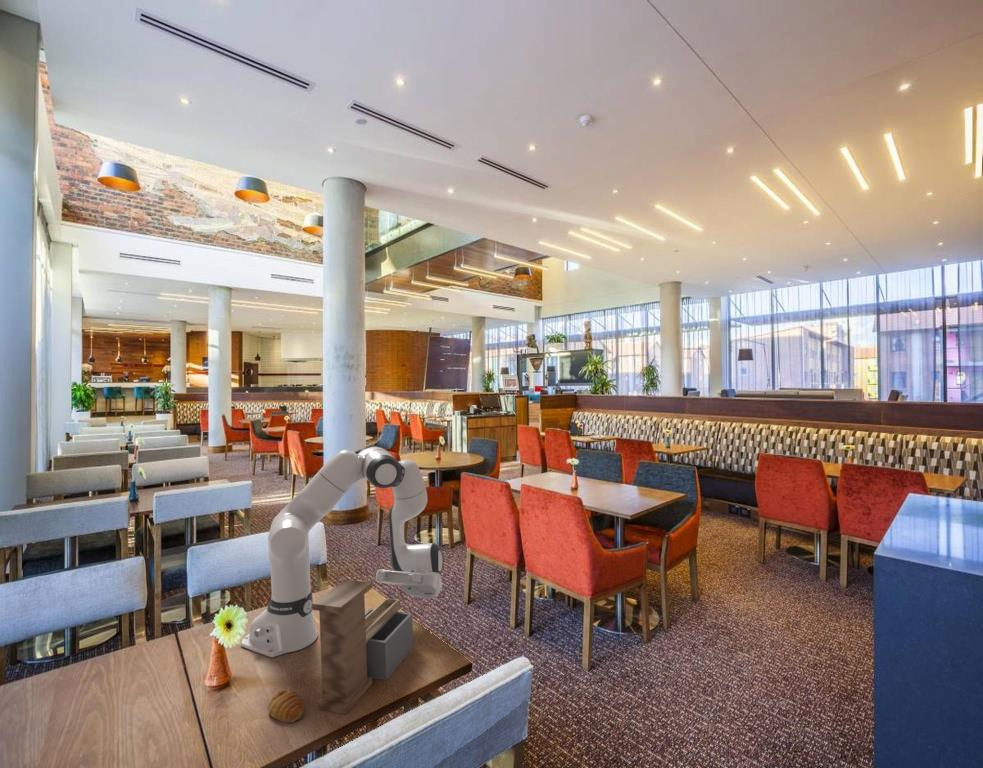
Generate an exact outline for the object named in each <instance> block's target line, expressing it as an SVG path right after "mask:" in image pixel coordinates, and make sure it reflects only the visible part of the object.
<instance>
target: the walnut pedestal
mask: <svg viewBox="0 0 983 768" xmlns="http://www.w3.org/2000/svg"><path fill="white" fill-rule="evenodd" d="M372 589H373V583H372V582H371V581H361V580H352V579H344V580H343V581H342V582H340V583H339V584H338V585H336V586H335V587H333V588H331V590H329V591H328V592H326V593H325V594H323V595H322V596H321V597H319V598H318V599H317V600H315V601H314V602H313V603H312V611H317V612H318V611H319V612H318V613H319V615H318V616H319V637H320V640H319V641H320V661H321V667H320V668H321V693H322V697H321V698H320V699H318V700H317V702H316V707H317V710H320V711H321V710H322V711H328V712H332V713H336V714H340V715H341V714H342V715H347V714H348V713H349V712H350V710H351V709H352V708H353V707H354V706H355V704H356V703H357V702H358V701H359V700H360V699H361V697H362V696H363V695H364V694H365V692H366V691H368V689H369V688H370V686H372V684H373V678H372V677H367V656H366V628H365V613H366V609H365V608H366V607H365V605H366V603H365V600H366V599H365V595H366V594H367V593H368V592H369V591H370V590H372ZM347 712H348V713H347Z"/></svg>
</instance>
